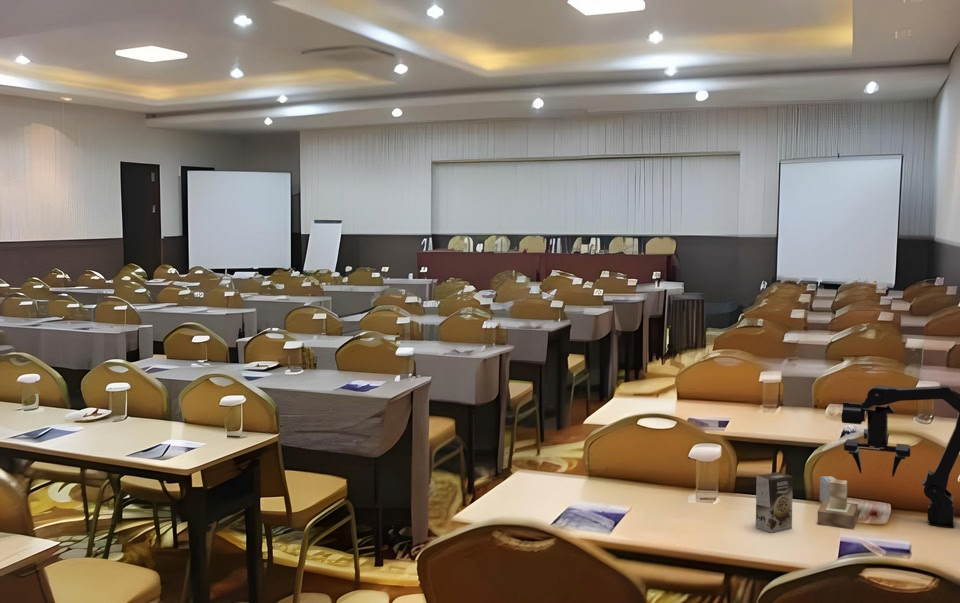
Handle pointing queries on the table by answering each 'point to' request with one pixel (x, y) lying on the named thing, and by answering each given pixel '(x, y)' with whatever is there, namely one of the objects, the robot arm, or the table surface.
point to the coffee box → (774, 502)
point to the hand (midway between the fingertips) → (876, 474)
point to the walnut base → (838, 515)
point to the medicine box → (825, 488)
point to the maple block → (838, 494)
